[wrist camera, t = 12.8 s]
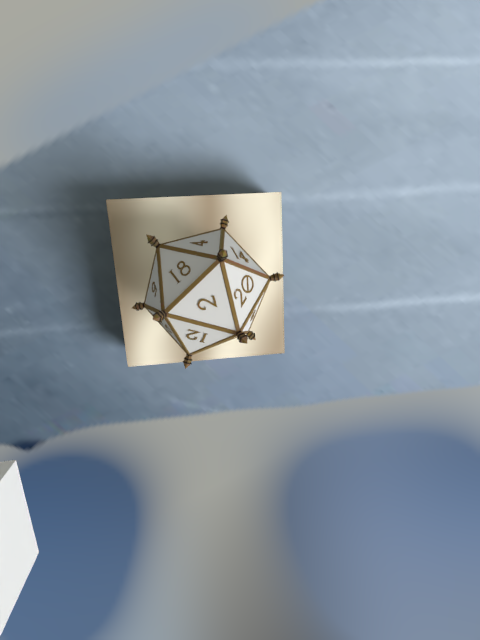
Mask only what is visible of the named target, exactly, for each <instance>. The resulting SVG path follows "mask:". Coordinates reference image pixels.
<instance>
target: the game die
mask: <svg viewBox="0 0 480 640" xmlns="http://www.w3.org/2000/svg"><path fill="white" fill-rule="evenodd" d="M220 220H221V223H220V228H219V229H216V230H212V231H208V232H204V233H200V234H196V235H193V236H189V237H185V238H181V239H177V240H173V241H170V242H166V243H162V244H160V243H159V242H158V239H156V238H155V236H151V235H147V234H146V236H147V239H148V243H150V244H151V246H154V247H155V248H156V251H155V256H154V260H153V265H152V269H151V274H150V278H149V283H148V287H147V292H146V296H145V301H144V303H141V302H139V303H137V302H136V304H135V305H134V306H133V307H132V309H135V310H136V311H139V310H143V308H146V309H147V310H148V312H149V313H150V314H151V315H152V316H153V320H155V321H157V322H158V323H159V324H160V325H161V326H162V327H163V328H164V329H165V330H166V332H167V333H168V334H169V335H170V336H171V337H172V338H173V339H174V340H175V342H176V343H177V344H178V345H179V346H180V347H181V348H182V349H183V351H184V352H185V353H186V357H185V358H184V361H183V362H184V366H185V369H186V368H187V367H188V366H189V365H190V364H192V363H191V360H192V355H194V354H197V353H199V352H202V351H204V350H207V349H209V348H212V347H214V346H217V345H219V344H222V343H224V342H227V341H230V340H232V339H235V338H237V340H239V342H240V343H246V344H247V339H250V340H256V339H255V333H253V331H250V328H251V325H252V323H253V321H254V318H255V316H256V314H257V311H258V309H259V307H260V304H261V302H262V300H263V297H264V295H265V292H266V290H267V288H268V285H269V283H270V281H275V282H276V281H279V280H280V279H281V278H282V277H283V276H284V275H283V274H280V273H278V272H277V273H275V274H274V273H273V274H272V275H271V276H269V275H268V274H267V273H266V272H265V271H264V270H263V269H262V268H261V267H260V266H259V265H258V264H257V263H256V262H255V260H254V259H253V258H252V257H251V256H250V255H249V254H248V253H247V252H246V251H245V250H244V249H243V248H242V247H241V246H240V245H239V244H238V243H237V242H236V240H235V239H234V238H233V237H232V236H231V235H230V234H229V233H228V232H227V231H226V230H225V229H226V227H227V226H228V223H229V221H228V218H227V215H226V216H225V217H224V218H223V219H220ZM245 334H246V335H245Z"/></svg>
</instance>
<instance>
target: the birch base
mask: <svg viewBox="0 0 480 640" xmlns="http://www.w3.org/2000/svg"><path fill="white" fill-rule="evenodd" d="M106 203H107V211H108V219H109V226H110V234H111V241H112V249H113V257H114V264H115V272H116V280H117V287H118V295H119V302H120V310H121V318H122V325H123V333H124V340H125V348H126V356H127V363H128V367H131V366H142V365H154V364H165V363H176V362H183V361H184V358H185V357H186V353H185V352H184V351H183V349H182V348H181V347H180V346H179V345H178V344H177V343H176V342H175V340H174V339H173V338H172V337H171V336H170V335H169V334H168V333H167V332H166V330H165V329H164V328H163V327H162V326H161V325H160V324H159V323H158V322H157V321H155V320H153V316H152V315H151V314H150V313H149V312H148V310H147V309H146V308H143V310H139V311H136V310H135V309H132V307H133V306H134V305H135V304H136V302H137V303H139V302H141V303H144V301H145V296H146V292H147V287H148V283H149V278H150V274H151V269H152V265H153V260H154V256H155V251H156V248H155V247H154V246H151V244H150V243H148V239H147V236H146V234H147V235H151V236H155V238H156V239H158V242H159V243H160V244H162V243H166V242H170V241H173V240H177V239H181V238H185V237H189V236H193V235H196V234H200V233H204V232H208V231H212V230H216V229H219V228H220V223H221V220H220V219H223V218H224V217H225V216H226V215H227V218H228V221H229V223H228V226H227V227H226V229H225V230H226V231H227V232H228V233H229V234H230V235H231V236H232V237H233V238H234V239H235V240H236V242H237V243H238V244H239V245H240V246H241V247H242V248H243V249H244V250H245V251H246V252H247V253H248V254H249V255H250V256H251V257H252V258H253V259H254V260H255V262H256V263H257V264H258V265H259V266H260V267H261V268H262V269H263V270H264V271H265V272H266V273H267V274H268V275H269V276H271V275H272V274H273V273H274V274H275V273H277V272H278V273H280V274H283V256H282V207H281V192H272V193H249V194H225V195H202V196H179V197H156V198H133V199H110V200H106ZM250 331H253V333H255V339H256V340H250V339H247V344H246V343H240V342H239V340H237V338H235V339H232V340H230V341H227V342H224V343H222V344H219V345H217V346H214V347H212V348H209V349H207V350H204V351H202V352H199V353H197V354H194V355H192V360H191V361H199V360H210V359H221V358H232V357H244V356H255V355H266V354H277V353H284V306H283V277H282V278H281V279H280V280H279V281H276V282H275V281H270V283H269V285H268V288H267V290H266V292H265V295H264V297H263V300H262V302H261V304H260V307H259V309H258V311H257V314H256V316H255V318H254V321H253V323H252V325H251V328H250ZM245 335H246V334H245Z"/></svg>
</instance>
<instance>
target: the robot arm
mask: <svg viewBox="0 0 480 640" xmlns="http://www.w3.org/2000/svg"><path fill="white" fill-rule="evenodd" d="M38 553H39V551H38V547H37V543H36V539H35V535H34V531H33V527H32V523H31V519H30V515H29V511H28V507H27V503H26V499H25V495H24V491H23V487H22V483H21V479H20V475H19V471H18V467H17V463H16V460H12V461H4V462H0V635H1V633H2V631H3V629H4V626H5V624H6V622H7V620H8V618H9V616H10V613H11V611H12V609H13V607H14V605H15V603H16V601H17V598H18V596H19V594H20V592H21V589H22V588H23V585H24V583H25V581H26V579H27V577H28V574H29V572H30V570H31V568H32V566H33V564H34V561H35V559H36V557H37V555H38Z"/></svg>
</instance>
